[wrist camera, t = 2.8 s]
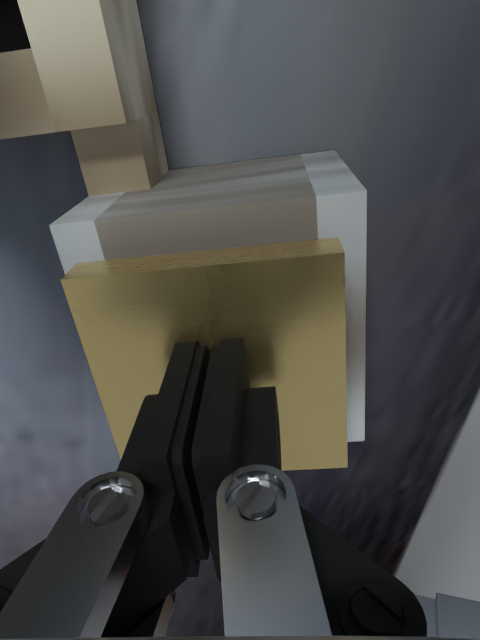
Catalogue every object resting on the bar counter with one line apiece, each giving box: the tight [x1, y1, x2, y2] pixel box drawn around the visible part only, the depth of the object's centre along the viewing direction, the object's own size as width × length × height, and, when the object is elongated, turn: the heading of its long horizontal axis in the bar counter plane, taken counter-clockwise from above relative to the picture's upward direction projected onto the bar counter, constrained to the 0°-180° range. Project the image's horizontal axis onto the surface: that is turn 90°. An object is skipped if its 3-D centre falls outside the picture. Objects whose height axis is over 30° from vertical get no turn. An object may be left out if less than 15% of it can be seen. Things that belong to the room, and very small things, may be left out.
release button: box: [61, 237, 348, 471], centre depth 14 cm, size 6×6×6 cm
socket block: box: [0, 0, 367, 442], centre depth 13 cm, size 22×18×6 cm
